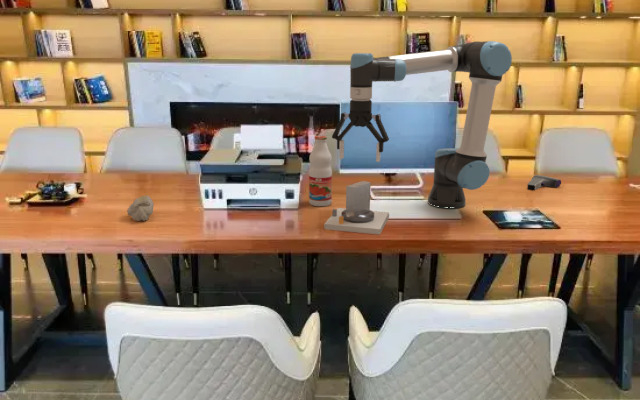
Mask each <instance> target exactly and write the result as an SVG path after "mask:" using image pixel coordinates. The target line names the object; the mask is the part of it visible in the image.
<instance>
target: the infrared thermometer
mask: <svg viewBox="0 0 640 400" xmlns="http://www.w3.org/2000/svg"><path fill="white" fill-rule="evenodd" d="M561 184H562V181H561V179H560V178H559V179H558V178H556V177H555V178H554V177H551V176H546V175H539V174H535V175H533V177H532V178H531V180H530V181H528V183H527V188H526V189H528V191H533V190H534V191H536V190H538V188H539V189H540V188H542V187H547V186H548V188H549V187H550V188H560V186H561Z"/></svg>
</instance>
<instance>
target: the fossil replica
mask: <svg viewBox="0 0 640 400" xmlns="http://www.w3.org/2000/svg"><path fill="white" fill-rule="evenodd" d="M154 205H155V204H154V201H153V200H152V198H151V196H149V195H147V194H146V195H142V196H139V197H136V198H135V199H134V200H133V202H132V203H131V204H130V205H129V207H128V208H127V211H126V212H127V215H128V216H130V217H131V219H132V220H134V221H136V220H137V221H136V222H140V221H144V222H146V221H148V220H149V217H150V216H151V215H152V214H153V213H154ZM145 220H146V221H145Z"/></svg>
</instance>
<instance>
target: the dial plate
mask: <svg viewBox="0 0 640 400" xmlns="http://www.w3.org/2000/svg"><path fill="white" fill-rule="evenodd" d="M331 210H332V212H331V213H332V214H331V216H330V217H329V218H328V219H327V220H326V221H325V222H324V224H323V226H324V227H323V228H324V230H329V231H340V232H349V233H359V234H369V235H370V234H371V235H381V233H382V231H383V230H384V228H385V226H386V223H387V222H388V221H389V220H388V219H389V218H390V212H388V211H387V212H386V211H377V210H372V211H373V212H374V219H373V220H371V221H368V222H350V221H346V220H344V216H342V211H344V210H346V207H345V208H344V207H343V208H342V207H338V208H332V209H331Z"/></svg>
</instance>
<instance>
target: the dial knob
mask: <svg viewBox="0 0 640 400" xmlns="http://www.w3.org/2000/svg"><path fill="white" fill-rule="evenodd" d="M371 183H372V182H370V181H366V180H361V181H359V182H356V183H352V184H349V185H346V188H345V193H346V194H345V209H346V210H344V211H342V216H344V220H346V221H350V222H368V221H371V220H373V219H374V212H373V211H374V210H371V187H372V185H371Z"/></svg>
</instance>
